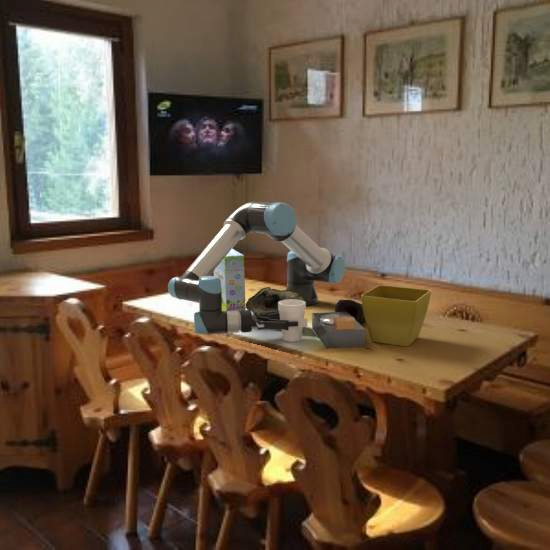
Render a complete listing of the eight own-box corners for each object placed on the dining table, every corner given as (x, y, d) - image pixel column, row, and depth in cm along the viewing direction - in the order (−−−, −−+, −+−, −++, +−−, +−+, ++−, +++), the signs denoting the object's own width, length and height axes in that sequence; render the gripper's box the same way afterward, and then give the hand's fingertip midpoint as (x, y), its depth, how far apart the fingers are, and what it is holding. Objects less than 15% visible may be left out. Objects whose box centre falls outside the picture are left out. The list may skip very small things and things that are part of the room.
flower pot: (414, 351, 199) (416, 301, 196) (358, 343, 208) (359, 294, 205) (429, 336, 215) (431, 289, 212) (378, 329, 224) (379, 284, 221)
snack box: (213, 308, 257) (211, 248, 252) (233, 307, 259) (232, 246, 255) (225, 321, 237) (223, 255, 232) (247, 319, 239) (246, 254, 234)
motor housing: (312, 328, 226) (312, 305, 224) (346, 327, 227) (346, 303, 226) (326, 348, 202) (326, 322, 201) (364, 346, 204) (365, 320, 202)
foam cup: (273, 340, 211) (272, 303, 209) (287, 333, 219) (287, 298, 217) (296, 344, 206) (296, 306, 204) (310, 337, 214) (310, 301, 211)
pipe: (344, 295, 247) (327, 295, 234) (378, 301, 240) (364, 302, 227) (340, 318, 248) (324, 320, 235) (375, 326, 240) (360, 328, 227)
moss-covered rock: (302, 343, 224) (324, 310, 228) (282, 324, 217) (306, 290, 221) (258, 325, 246) (279, 295, 250) (239, 307, 239) (261, 276, 243)
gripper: (237, 323, 220) (298, 321, 223) (242, 341, 199) (310, 338, 202) (237, 303, 219) (298, 301, 222) (242, 319, 197) (310, 316, 200)
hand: (304, 318), depth 212 cm, fingers closed on foam cup, 9 cm apart
